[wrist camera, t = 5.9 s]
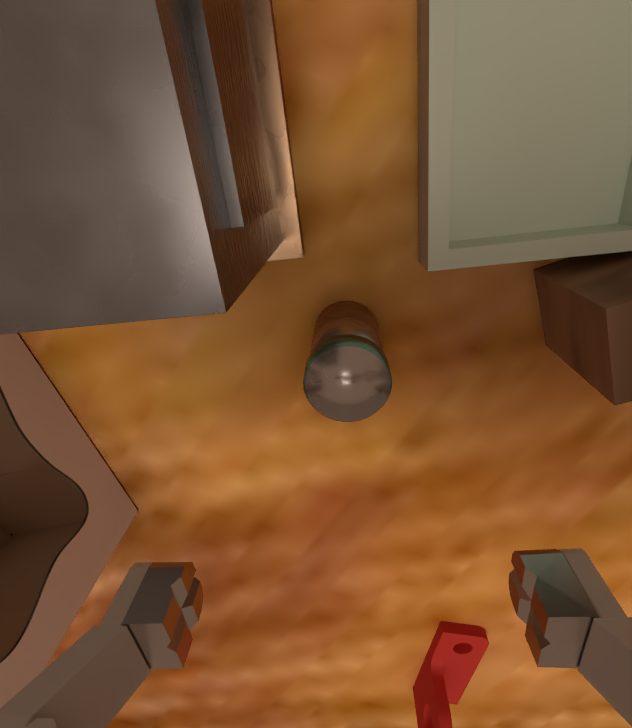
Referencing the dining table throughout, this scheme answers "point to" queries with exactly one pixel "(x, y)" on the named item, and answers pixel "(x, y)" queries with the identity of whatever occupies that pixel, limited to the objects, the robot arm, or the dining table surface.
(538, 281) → the walnut block
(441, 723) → the bracket
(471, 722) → the dining table surface
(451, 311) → the dining table surface
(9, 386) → the gable box
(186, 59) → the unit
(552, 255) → the tray
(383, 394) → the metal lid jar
